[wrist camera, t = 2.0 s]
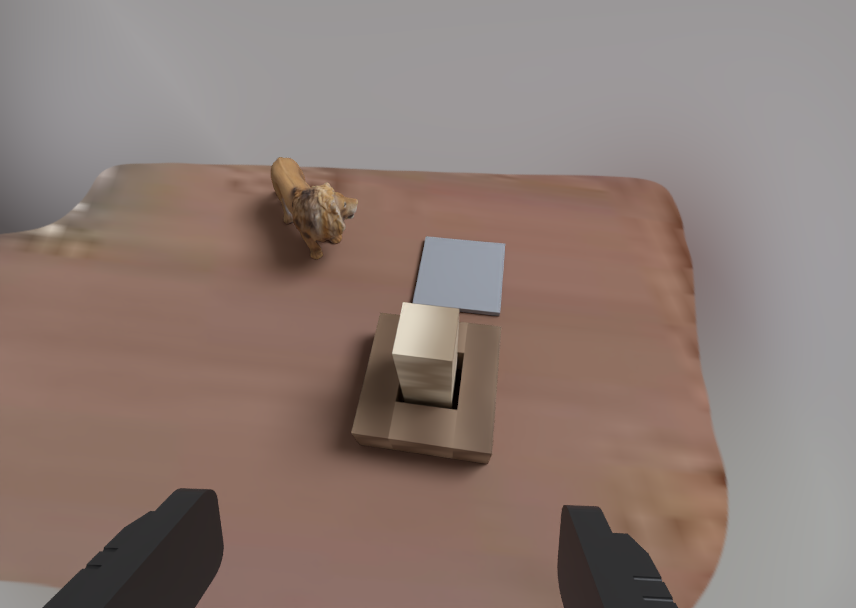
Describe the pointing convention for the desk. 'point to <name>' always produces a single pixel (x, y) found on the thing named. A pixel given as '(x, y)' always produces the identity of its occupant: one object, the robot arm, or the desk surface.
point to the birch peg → (427, 354)
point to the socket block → (424, 425)
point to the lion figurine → (311, 205)
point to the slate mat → (461, 275)
